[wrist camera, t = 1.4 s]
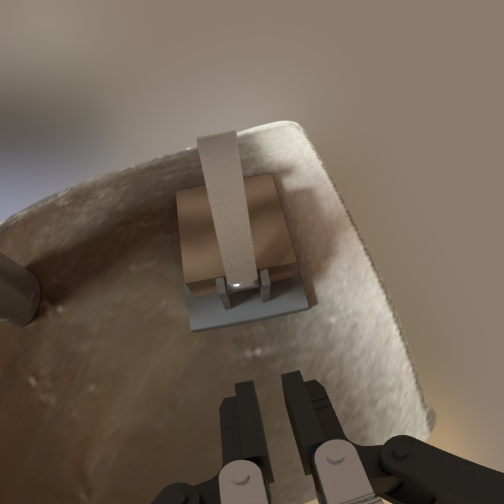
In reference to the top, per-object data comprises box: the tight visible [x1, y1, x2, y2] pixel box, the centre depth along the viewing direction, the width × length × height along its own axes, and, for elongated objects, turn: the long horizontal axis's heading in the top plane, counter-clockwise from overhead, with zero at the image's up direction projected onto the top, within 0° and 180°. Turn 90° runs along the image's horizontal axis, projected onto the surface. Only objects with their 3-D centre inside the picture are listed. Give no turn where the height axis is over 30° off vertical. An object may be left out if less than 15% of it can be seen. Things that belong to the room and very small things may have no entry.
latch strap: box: [197, 131, 259, 293], centre depth 26 cm, size 16×3×1 cm
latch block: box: [176, 173, 309, 332], centre depth 36 cm, size 20×14×9 cm
